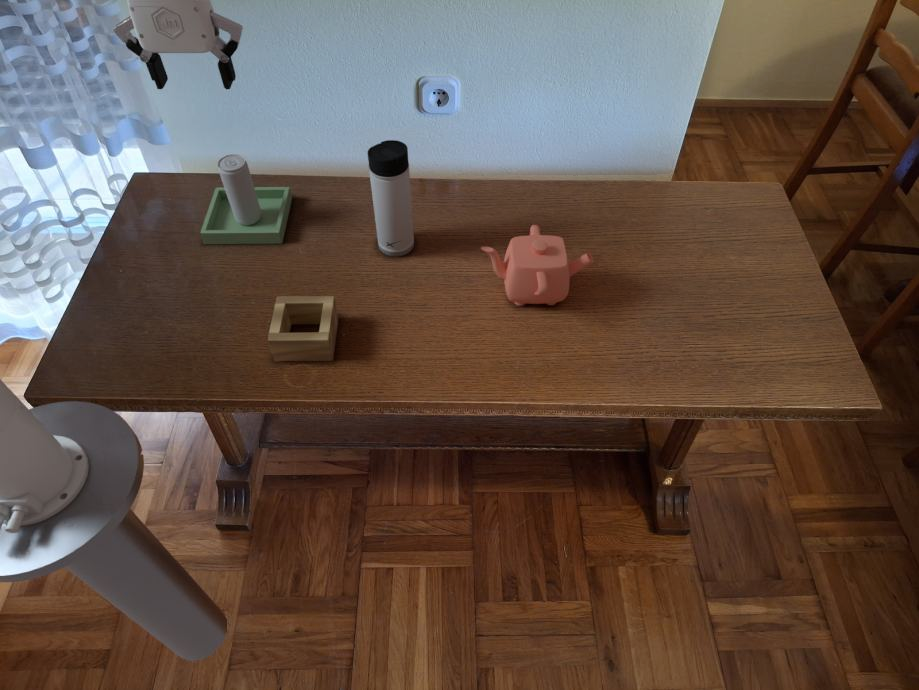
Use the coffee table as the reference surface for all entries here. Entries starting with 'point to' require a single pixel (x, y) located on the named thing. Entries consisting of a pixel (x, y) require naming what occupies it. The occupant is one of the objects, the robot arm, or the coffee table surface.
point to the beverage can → (239, 189)
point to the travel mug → (391, 197)
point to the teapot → (536, 268)
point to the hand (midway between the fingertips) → (196, 84)
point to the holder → (303, 344)
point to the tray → (266, 231)
